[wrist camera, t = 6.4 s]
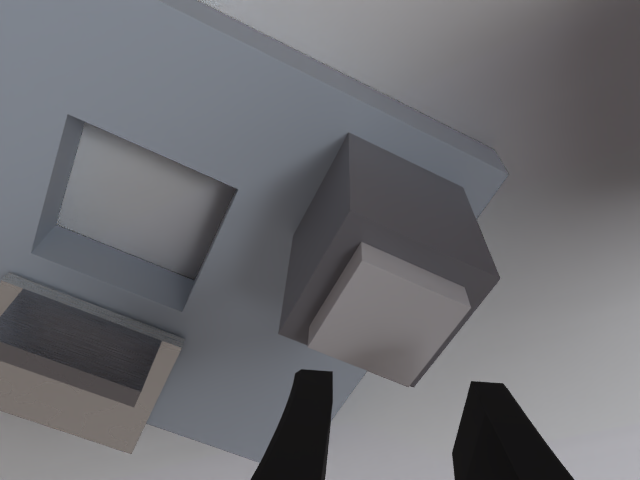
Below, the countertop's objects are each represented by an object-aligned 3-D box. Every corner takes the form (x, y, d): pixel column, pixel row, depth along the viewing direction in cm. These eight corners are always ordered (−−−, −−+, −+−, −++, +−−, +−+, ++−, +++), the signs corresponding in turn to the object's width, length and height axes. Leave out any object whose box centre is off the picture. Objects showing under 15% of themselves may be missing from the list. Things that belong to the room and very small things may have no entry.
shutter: (185, 339, 21) (162, 400, 19) (135, 444, 24) (110, 508, 22) (8, 271, 20) (-42, 327, 18) (-21, 391, 23) (-67, 453, 21)
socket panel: (494, 149, 19) (509, 174, 18) (296, 437, 27) (292, 474, 25) (-18, -108, 16) (-62, -109, 14) (-80, 302, 24) (-114, 333, 22)
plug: (463, 187, 18) (508, 298, 13) (398, 281, 20) (417, 409, 15) (348, 132, 17) (350, 228, 12) (293, 235, 19) (274, 355, 14)
